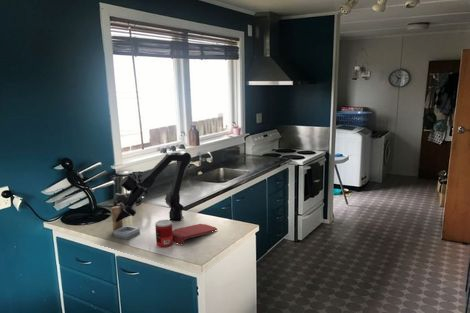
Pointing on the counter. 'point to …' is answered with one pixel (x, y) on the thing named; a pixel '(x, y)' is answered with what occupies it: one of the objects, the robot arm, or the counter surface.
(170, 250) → the counter surface
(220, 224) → the counter surface
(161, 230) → the canned food
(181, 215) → the robot arm
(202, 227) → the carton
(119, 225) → the tan round-ended cylinder
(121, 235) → the socket base
